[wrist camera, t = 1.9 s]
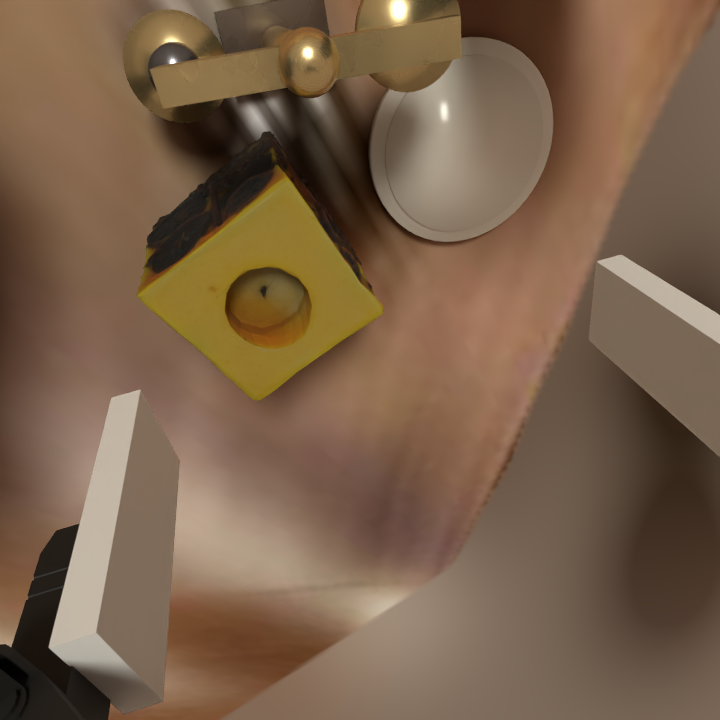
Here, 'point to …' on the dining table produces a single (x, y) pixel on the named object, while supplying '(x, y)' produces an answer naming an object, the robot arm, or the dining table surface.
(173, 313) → the candle
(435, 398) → the dining table surface
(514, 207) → the dish
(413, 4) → the balance
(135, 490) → the robot arm
